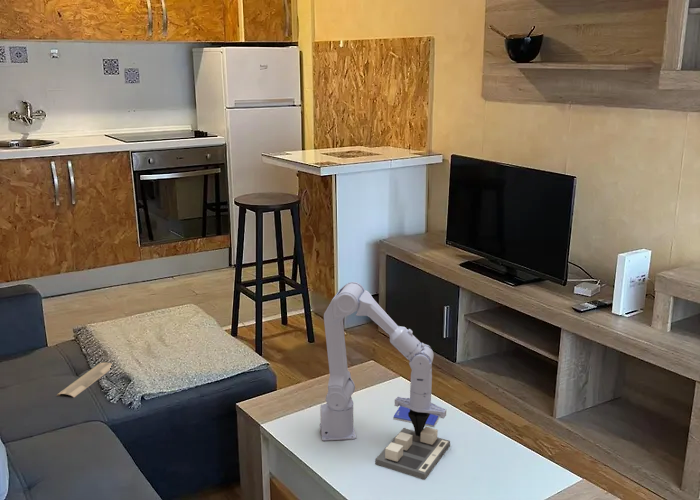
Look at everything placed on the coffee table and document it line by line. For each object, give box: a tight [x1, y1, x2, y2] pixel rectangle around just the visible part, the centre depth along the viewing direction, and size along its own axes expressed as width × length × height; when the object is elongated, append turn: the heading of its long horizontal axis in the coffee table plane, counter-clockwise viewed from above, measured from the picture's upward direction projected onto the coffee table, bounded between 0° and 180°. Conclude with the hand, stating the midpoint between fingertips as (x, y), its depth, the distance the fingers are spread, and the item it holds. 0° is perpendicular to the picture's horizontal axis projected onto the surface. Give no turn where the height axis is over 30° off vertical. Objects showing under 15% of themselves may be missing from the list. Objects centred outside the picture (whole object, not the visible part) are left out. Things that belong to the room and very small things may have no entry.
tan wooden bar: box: [56, 362, 113, 398], centre depth 224 cm, size 24×7×2 cm, turn 167°
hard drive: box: [392, 406, 440, 428], centre depth 202 cm, size 2×8×12 cm
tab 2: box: [394, 431, 412, 451], centre depth 184 cm, size 4×4×3 cm
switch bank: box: [374, 427, 451, 480], centre depth 183 cm, size 14×18×2 cm
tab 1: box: [384, 441, 403, 462], centre depth 178 cm, size 4×4×3 cm
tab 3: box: [420, 426, 439, 445], centre depth 186 cm, size 4×4×3 cm
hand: (419, 434), depth 188 cm, fingers closed
